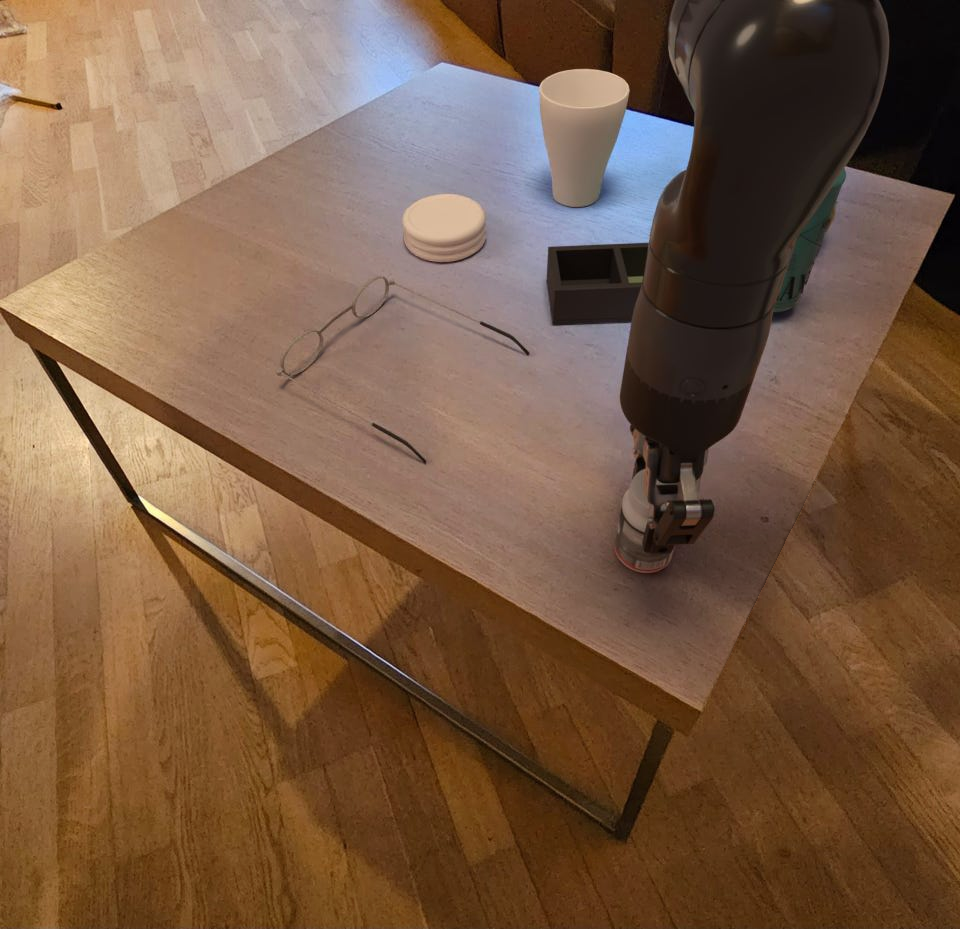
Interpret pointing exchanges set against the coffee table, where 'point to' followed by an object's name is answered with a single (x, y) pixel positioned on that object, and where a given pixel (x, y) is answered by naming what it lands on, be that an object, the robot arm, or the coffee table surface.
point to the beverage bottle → (807, 250)
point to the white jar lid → (444, 227)
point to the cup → (581, 130)
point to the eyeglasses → (352, 306)
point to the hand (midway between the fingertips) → (650, 518)
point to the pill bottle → (637, 530)
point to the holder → (594, 282)
